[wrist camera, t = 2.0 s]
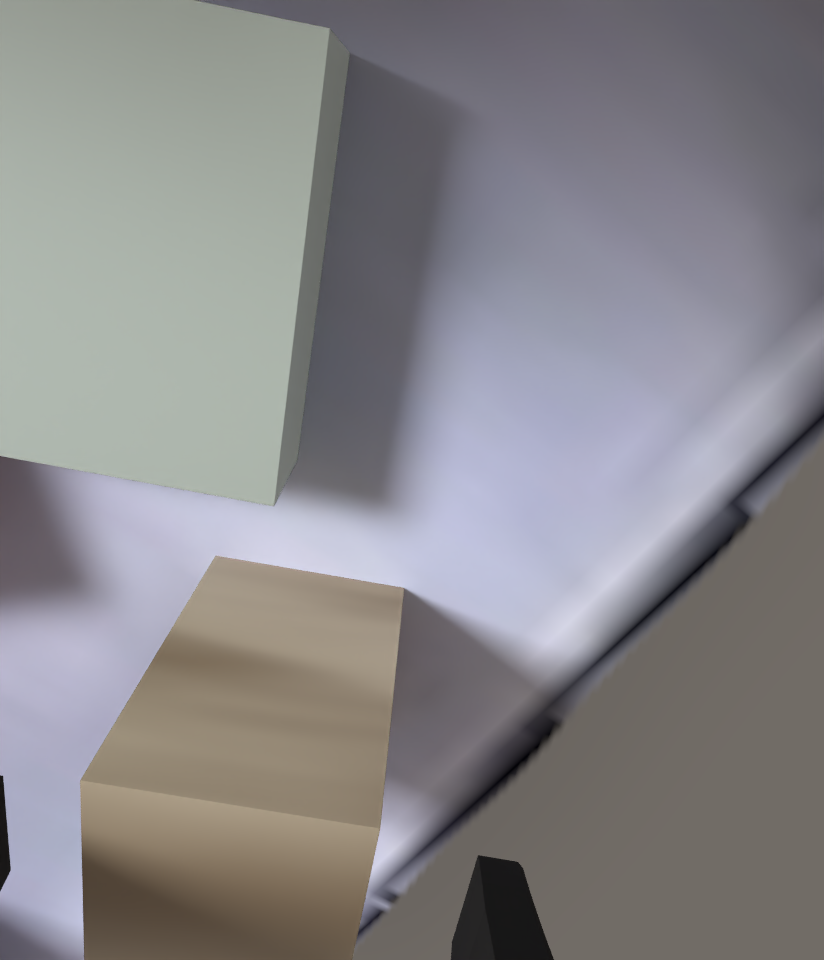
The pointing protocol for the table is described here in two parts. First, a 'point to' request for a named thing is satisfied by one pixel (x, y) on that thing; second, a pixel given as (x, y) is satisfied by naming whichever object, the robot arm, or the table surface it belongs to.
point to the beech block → (245, 774)
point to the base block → (162, 237)
